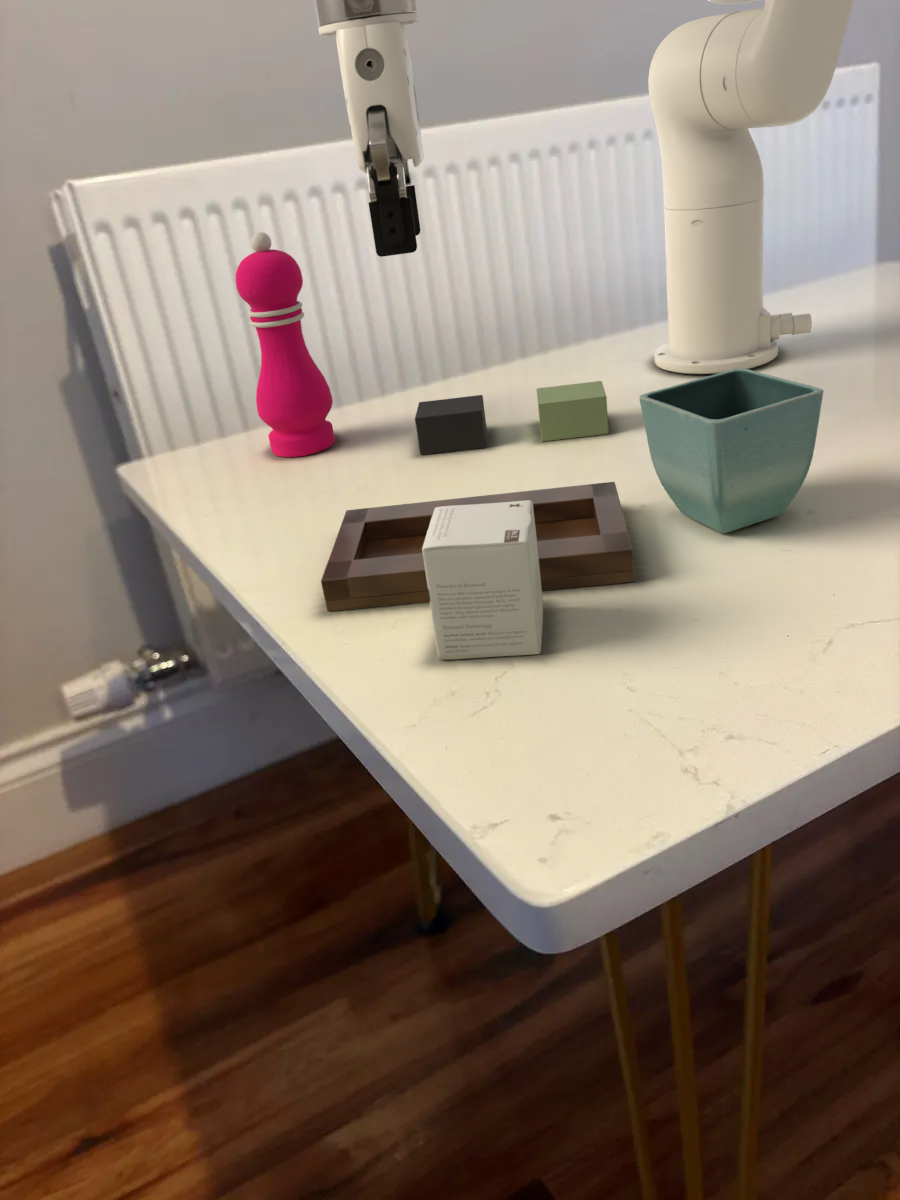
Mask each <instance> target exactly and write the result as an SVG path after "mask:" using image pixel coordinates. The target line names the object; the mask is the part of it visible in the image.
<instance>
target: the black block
mask: <svg viewBox="0 0 900 1200" xmlns="http://www.w3.org/2000/svg"><path fill="white" fill-rule="evenodd" d="M484 403H485V402H484V395H483V394H478V395H469V396H459V397H452V398H444V399H434V400H425V401H419V402H418V405H417V409H416V411H415V412H416V413H415V417H414V422H415V428H416V436H417V441H418V448H419V454H420V455H421V456H423V455H433V454H442V453H450V452H459V451H461V452H462V451H469V450H478V449H485V448H487V437H488V436H487V435H488V428H487V421H486V412H485V404H484Z"/></svg>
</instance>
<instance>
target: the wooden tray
mask: <svg viewBox="0 0 900 1200" xmlns="http://www.w3.org/2000/svg"><path fill="white" fill-rule="evenodd" d="M525 500H531V501H532V502H533V509H534V519H535V528H536V537H537V547H538V557H539V567H540V577H541V589H542V592H543V591H553V590H564V589H572V588H584V587H585V588H586V587H593V586H603V585H614V584H623V583H626V584H627V583H634V582H635V579H636V578H635V563H634V562H635V561H634V549H633V545H632V541H631V537H630V533H629V531H628V527H627V522H626V518H625V515H624V511H623V508H622V503H621V501H620V496H619V493H618V488H617V485H616V482H615V481H608V482H606V481H605V482H598V483H597V482H596V483H589V484H579V485H571V486H562V487H560V486H559V487H552V488H543V489H534V490H532V489H531V490H522V491H515V492H505V493H504V492H503V493H497V494H496V493H495V494H494V493H493V494H486V495H485V494H484V495H477V496H467V497H459V498H448V499H439V500H430V501H419V502H410V503H402V504H393V505H384V506H382V505H381V506H374V507H364V508H355V509H354V508H353V509H346V510H345V513H344V515H343V519H342V521H341V525H340V527H339V530H338V533H337V535H336V538H335V541H334V544H333V547H332V549H331V553H330V555H329V558H328V560H327V563H326V565H325V569H324V571H323V574H322V577H321V580H320V583H321V589H322V593H323V598H324V603H325V606H326V611H327V612H336V611H337V612H338V611H346V610H355V609H356V610H357V609H368V608H379V607H388V606H397V605H398V606H400V605H408V604H419V603H427V602H429V603H430V600H429V593H428V586H427V579H426V572H425V566H424V559H423V553H422V547H423V544H424V541H425V537H426V534H427V531H428V528H429V525H430V521H431V518H432V515H433V512H434V509H435V508H436V507H442V506H453V505H471V504H487V503H501V502H514V501H525Z"/></svg>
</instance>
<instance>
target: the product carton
mask: <svg viewBox="0 0 900 1200" xmlns="http://www.w3.org/2000/svg"><path fill="white" fill-rule="evenodd" d="M422 553H423V559H424V566H425V572H426V579H427V586H428V593H429V600H430V602H429V606H430V612H431V619H432V625H433V626H432V627H433V632H434V638H435V645H436V646H435V647H436V652H437V657H438V659H440V660H448V661H449V660H465V659H480V658H481V659H482V658H498V657H500V658H501V657H516V656H531V655H539V654H541V652H542V642H543V627H544V600H543V591H542V589H541V577H540V567H539V557H538V547H537V537H536V528H535V519H534V509H533V502H532V501H531V500H525V501H514V502H501V503H487V504H471V505H453V506H442V507H436V508H435V509H434V512H433V515H432V518H431V521H430V525H429V528H428V531H427V534H426V537H425V541H424V544H423V547H422Z"/></svg>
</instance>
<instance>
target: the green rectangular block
mask: <svg viewBox="0 0 900 1200" xmlns="http://www.w3.org/2000/svg"><path fill="white" fill-rule="evenodd" d="M536 398H537V400H536V401H537V409H538V420H539V421H538V422H539V430H540V439H541V440H540V441H541V442H548V441H558V440H566V439H567V440H568V439H578V438H584V437H586V438H587V437H593V436H595V437H596V436H602V435H609V434H610V431H609V430H610V429H609V415H608V399H607V398H608V397H607V394H606V390H605V387H604V384H603V381H602V380H596V381H589V382H580V383H571V384H562V385H554V386H553V385H552V386H545V387H537V388H536Z"/></svg>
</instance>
